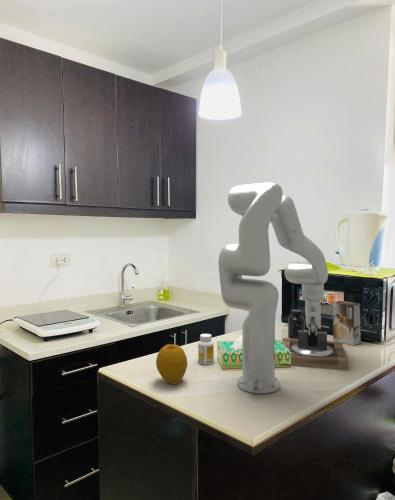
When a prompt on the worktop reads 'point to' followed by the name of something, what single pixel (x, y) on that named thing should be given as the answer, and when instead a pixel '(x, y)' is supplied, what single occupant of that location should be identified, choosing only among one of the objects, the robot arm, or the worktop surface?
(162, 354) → the apple
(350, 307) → the coffee box
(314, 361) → the dial housing
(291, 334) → the supplement bottle
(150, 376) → the worktop surface
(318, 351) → the dial
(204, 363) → the supplement bottle
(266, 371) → the robot arm
